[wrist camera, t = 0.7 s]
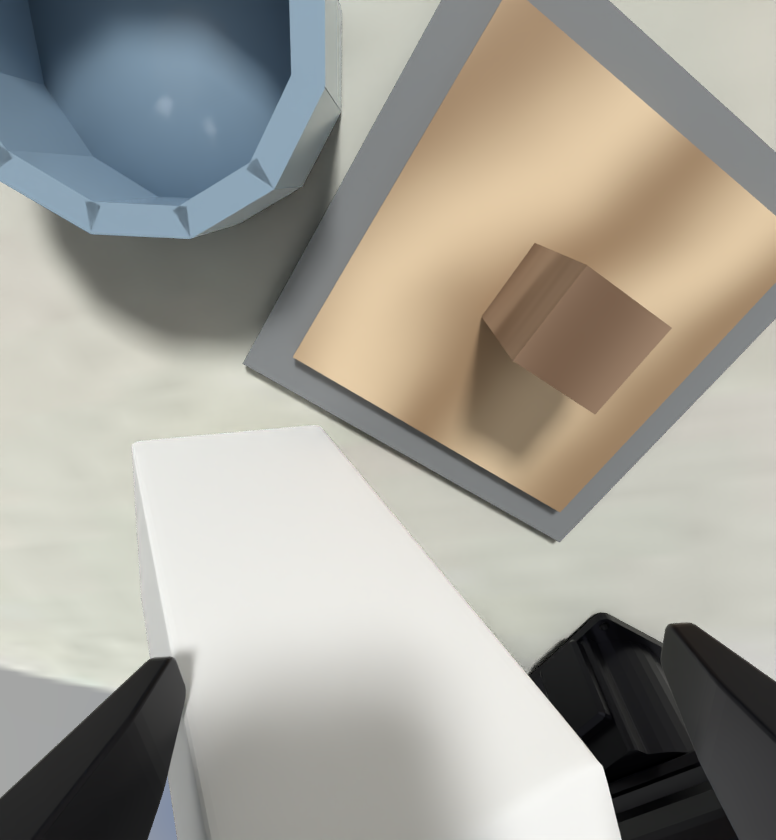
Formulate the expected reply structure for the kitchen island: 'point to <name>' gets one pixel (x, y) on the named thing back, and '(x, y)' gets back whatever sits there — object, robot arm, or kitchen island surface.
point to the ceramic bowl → (165, 108)
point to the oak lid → (542, 266)
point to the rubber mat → (381, 166)
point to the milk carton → (335, 662)
